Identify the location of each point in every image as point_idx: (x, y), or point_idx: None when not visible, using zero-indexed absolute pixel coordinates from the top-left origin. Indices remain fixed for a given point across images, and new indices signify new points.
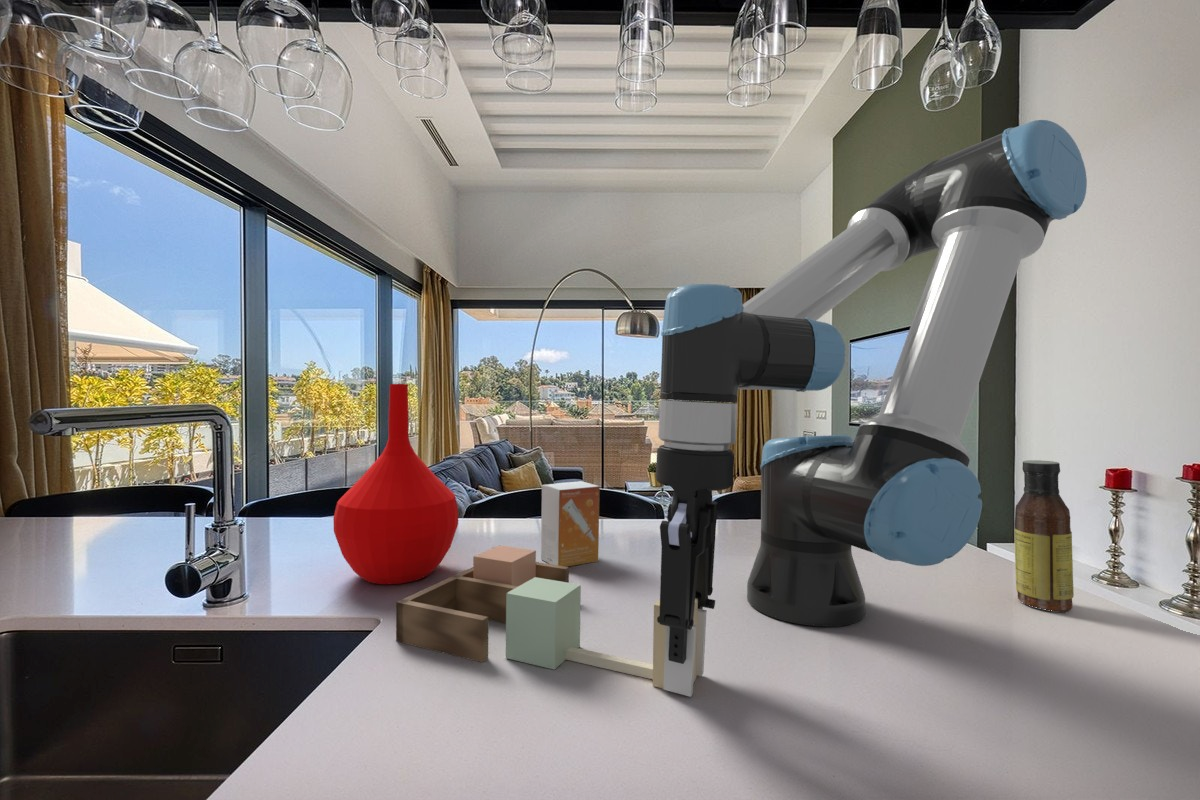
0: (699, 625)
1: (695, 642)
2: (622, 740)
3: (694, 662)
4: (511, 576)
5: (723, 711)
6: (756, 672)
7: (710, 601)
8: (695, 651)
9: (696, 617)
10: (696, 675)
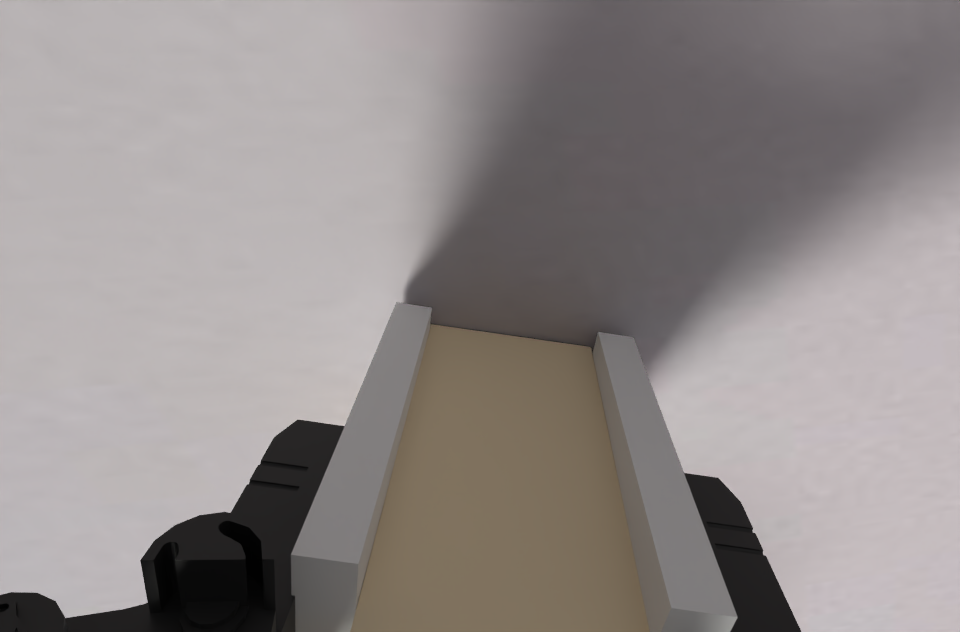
0: (381, 503)
1: (440, 447)
2: (927, 500)
3: (469, 382)
4: None
5: (704, 189)
6: (244, 23)
7: (196, 588)
8: (446, 411)
9: (399, 577)
10: (430, 329)
